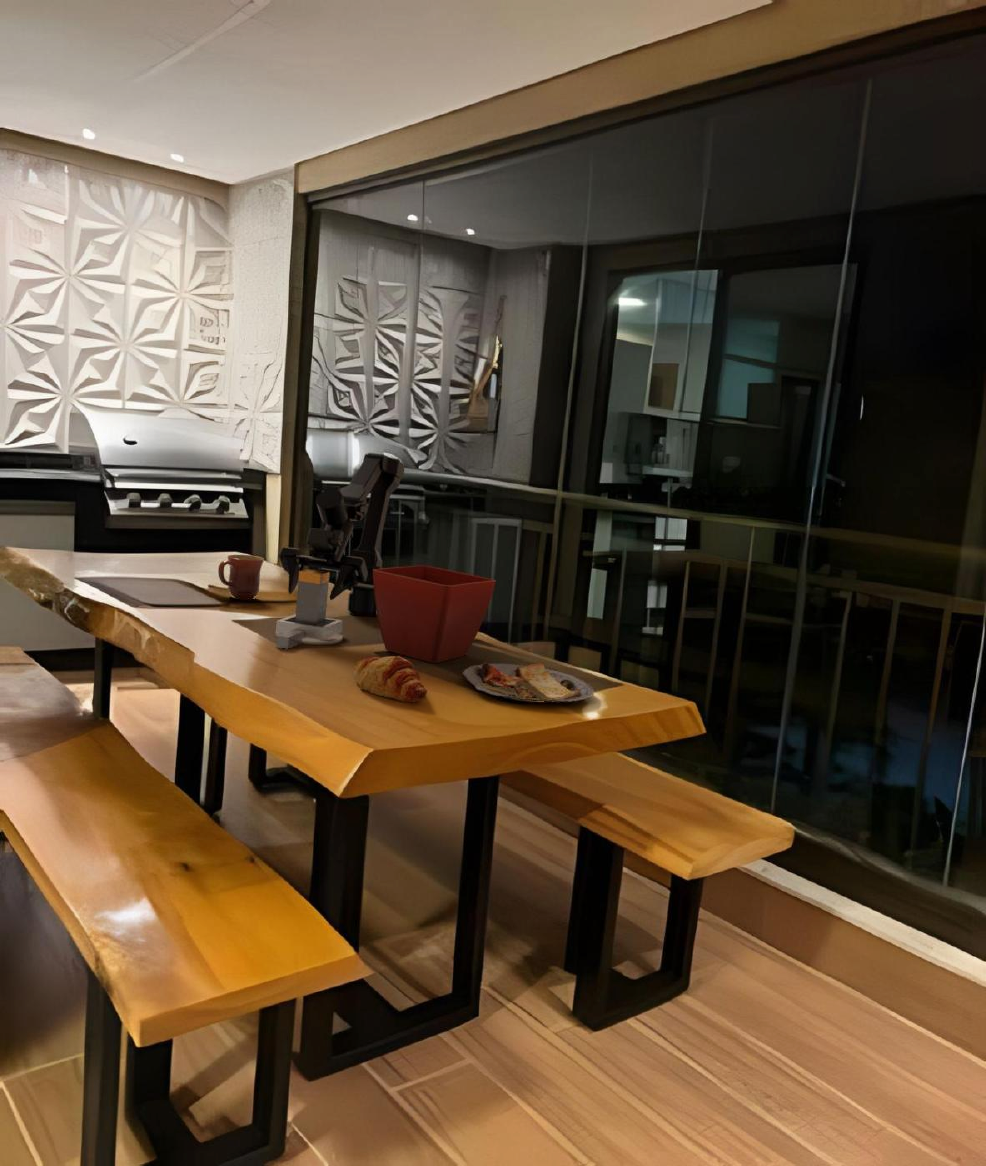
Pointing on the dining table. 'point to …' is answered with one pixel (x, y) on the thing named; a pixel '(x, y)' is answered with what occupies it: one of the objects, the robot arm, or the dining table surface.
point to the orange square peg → (312, 597)
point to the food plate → (529, 681)
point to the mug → (242, 575)
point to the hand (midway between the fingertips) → (310, 595)
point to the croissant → (390, 678)
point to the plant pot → (430, 610)
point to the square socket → (307, 632)
